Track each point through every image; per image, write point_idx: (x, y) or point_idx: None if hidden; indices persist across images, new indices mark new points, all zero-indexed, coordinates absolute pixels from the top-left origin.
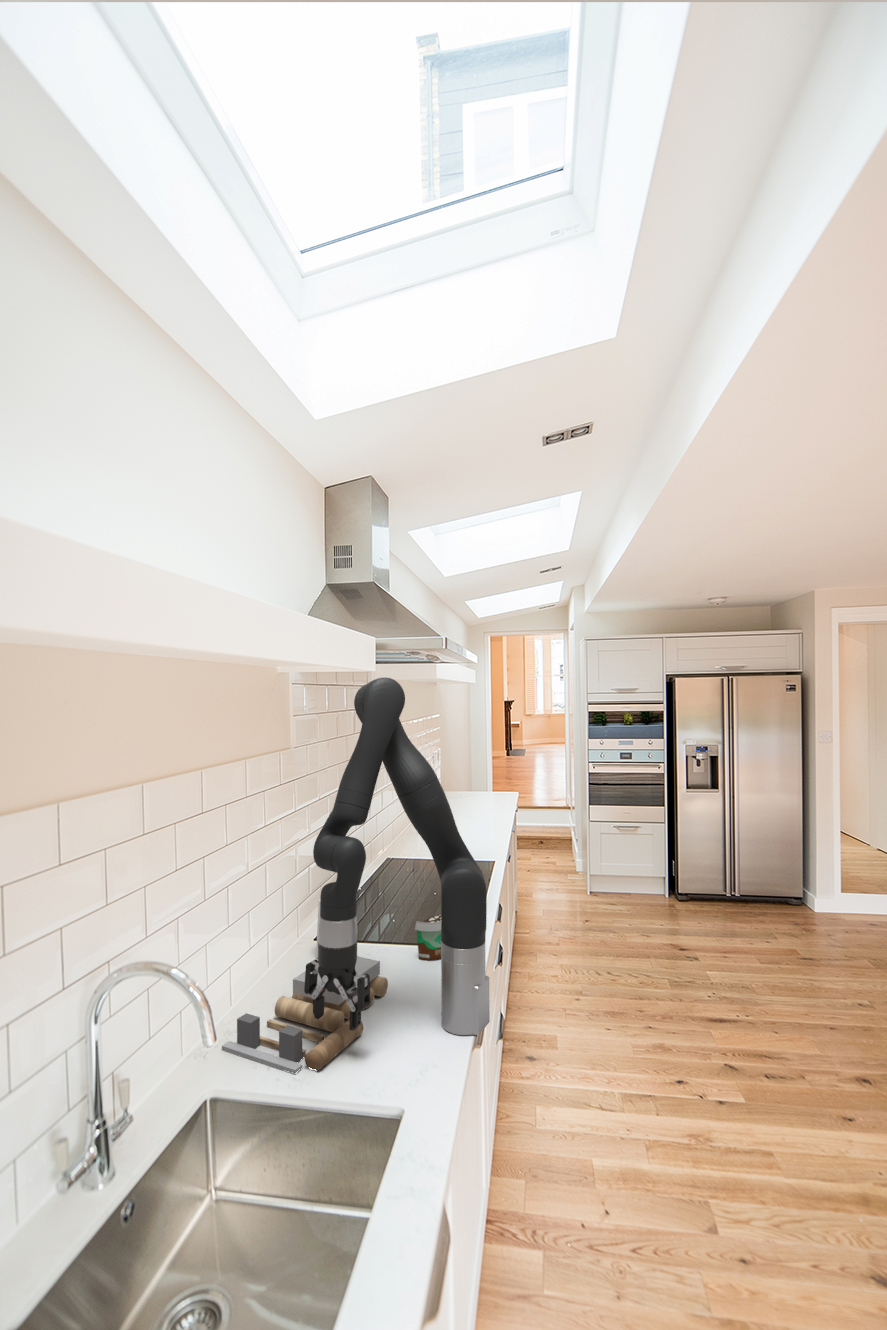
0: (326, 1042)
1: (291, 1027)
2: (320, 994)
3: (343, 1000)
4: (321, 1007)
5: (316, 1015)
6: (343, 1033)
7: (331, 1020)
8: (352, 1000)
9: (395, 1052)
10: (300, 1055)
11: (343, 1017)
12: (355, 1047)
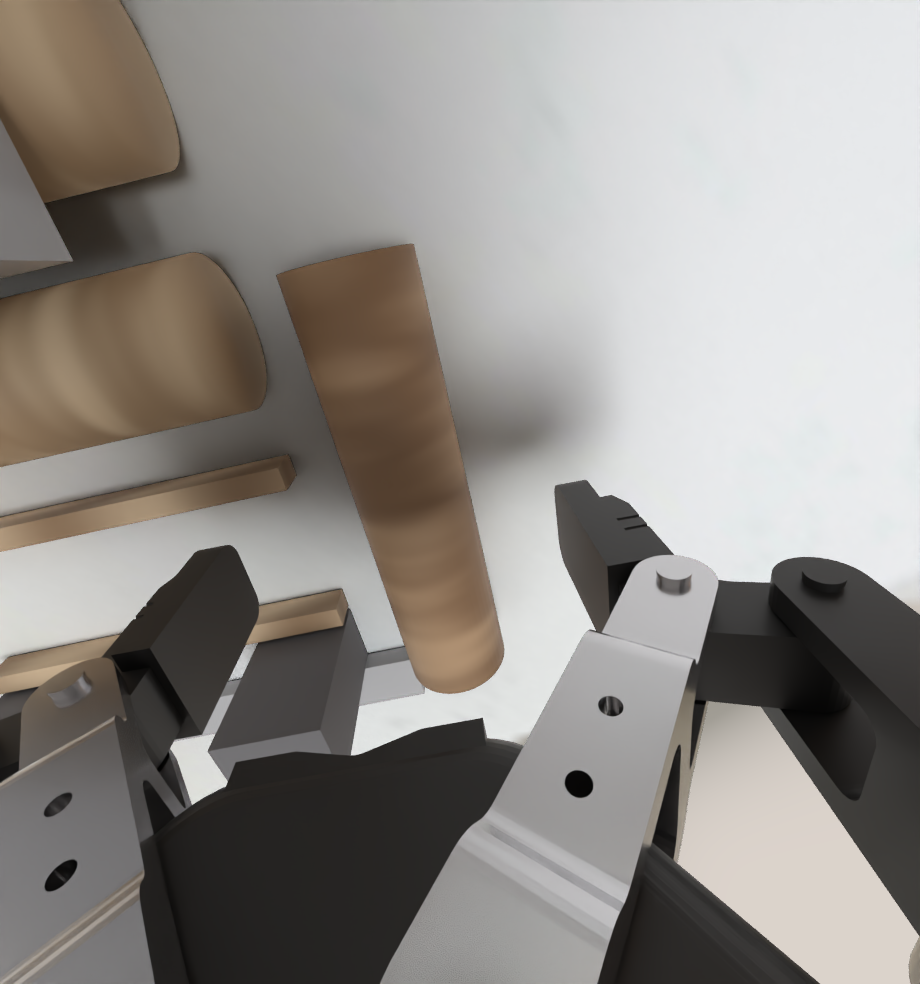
0: (447, 608)
1: (246, 749)
2: (142, 725)
3: (13, 159)
4: (212, 614)
5: (248, 633)
6: (436, 474)
7: (222, 412)
8: (693, 751)
9: (721, 259)
10: (349, 635)
11: (197, 265)
12: (476, 381)
